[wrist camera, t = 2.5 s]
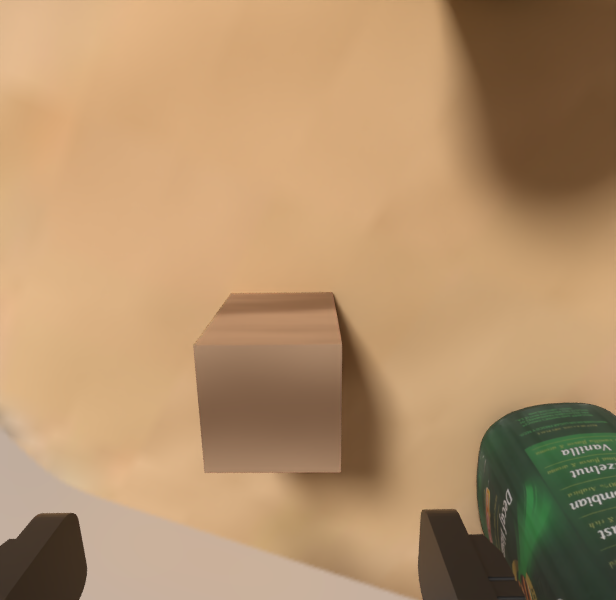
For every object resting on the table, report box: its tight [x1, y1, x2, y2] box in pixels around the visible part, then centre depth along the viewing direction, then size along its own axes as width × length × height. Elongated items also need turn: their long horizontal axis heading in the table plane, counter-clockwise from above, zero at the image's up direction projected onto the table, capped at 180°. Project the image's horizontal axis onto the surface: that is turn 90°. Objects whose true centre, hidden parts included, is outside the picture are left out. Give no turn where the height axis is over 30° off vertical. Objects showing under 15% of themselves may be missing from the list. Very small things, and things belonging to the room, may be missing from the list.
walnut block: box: [193, 292, 342, 473], centre depth 19 cm, size 5×5×7 cm
